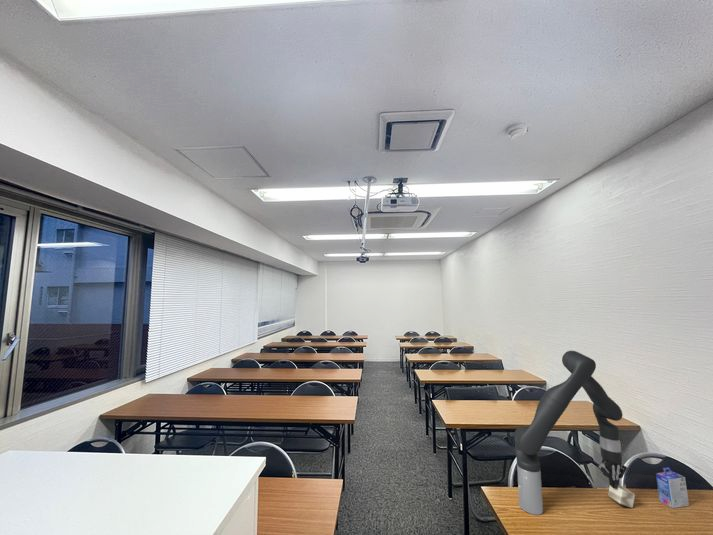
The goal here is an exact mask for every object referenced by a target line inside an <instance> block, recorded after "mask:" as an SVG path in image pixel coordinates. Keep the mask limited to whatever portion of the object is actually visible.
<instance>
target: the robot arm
mask: <svg viewBox="0 0 713 535" xmlns="http://www.w3.org/2000/svg"><path fill="white" fill-rule="evenodd" d="M561 357H562V358H561V362H562V365H563V366H564V368H565V369H567V371H568V372H569V373H570V375H569V376H568V377H567V379H566V380H565V381H563V382H561V383H559V384H556V385H553V386H551V387H550V388H548V389H546V391H544V394H543V395H542V396H541V398H540V399H539V401H538V404H537V407H536V410H535V413H534V417H533V420H532V422H531V423H530V424H529V426H528V427H527V426H519V427H517V428H516V429H515V431H514V436H513V437H514V438H513V439H514V451H515V452H514V453H515V457H516V458H515V459H516V468H517V469H516V470H517V485H518V486H517V488H518V491H517V492H518V503H519V504H518V506H519V509H520V510H523V511H525V512H526V513H528V514H531V515H534V516H535V515H536V516H539V515H542V514H543V513H544V505H543V489H542V488H543V487H542V472H541V470H542V469H541V462H540V459H539V454H538V453H539V452H540V451H541V449H542V447H543V445H544V443H545V441H546V439H547V437H548V436H549V434H550V432H551V431H552V429H553V428H554V426H555V425H556V424H557V422H558V421H559V419H560V418H561V417H562V415H563V413H564V412H565V411H566V410H567V408H568V406H569V405H570V403H571V402H572V400H573V399H574V397H575V396H576V395H577V393H578V392H579V390H581V388H583V390H584V391H585V393H586V394H587V396H588V398H589V399H590V401H591V402H592V403H593V404H592V411H593V414H594V416H595V419H596V421H597V422H596V423H597V425H598V427H599V428H598V429H599V430H598V431H599V448H600V456H601V458H602V459H601V464H597V468H598V469H599V471H600V472H601V473H602V474H603V475H604V477H606V478H607V479H608V482H609V484H608V485H609V487H610V486H611V487H612V488H614V489H617V488H618V485H619V479H623V477H624V475H625V473H626V472H627V470H628V467H627V466H626V465H624V464H623V454H622V444H621V441H620V430H619V427H618V426H617V425H615V424H614V423H612V422H610V421H616V422H617V421H620V420H622V419H623V411H622V409H621V407H620V406H619V405H618V403H616V402H615V400H613V399H612V398H611V397H609V395H608V393H607V392H606V391H605V389H604V388H603V386H602V385H601V384H600V383H599V382H598V381H597V380H596V379H595V378H594V377H593V374H594V372H596V367H597V364H596V361H595V360H594V359H592V357H589V356H587V355H584V354H583V353H581V352H578V351H576V350H567V351H566V352H565V353H564V354H563V355H562V356H561ZM609 420H610V421H609Z"/></svg>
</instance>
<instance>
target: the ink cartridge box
mask: <svg viewBox="0 0 713 535" xmlns="http://www.w3.org/2000/svg"><path fill="white" fill-rule="evenodd" d="M662 470H663V471H662V472H656V473H655V476H656V478H655V479H656V483H657V491H658V498H659V502H661V503H662V504H664V505H666V506H668V507H669V508H671V509H675V508H676V509H677V508H682V507H688V506H690V502H689V497H688V496H689V495H688V491H687V490H688V489H687V482H686V477H685V476H684V475H682V474H680V473H677V472H675V471H673V470H671V468H670V467H669V466H668V467H662ZM667 470H668V471H667Z"/></svg>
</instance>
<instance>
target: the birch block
mask: <svg viewBox="0 0 713 535" xmlns="http://www.w3.org/2000/svg"><path fill="white" fill-rule="evenodd" d="M607 496H608V497H609V498H610V499H612V500H613V501H615V502H616V503H618V505H621V506H624V507H627V508H630V509H633V508H634V503H635V497H636V494H635V493H633V492H632V491H630V490H629V489H627V488H625V487H624V485H620V484H618V488H617V489H614V488H612V487H611V486H610V485H609V489H608V493H607Z"/></svg>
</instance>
